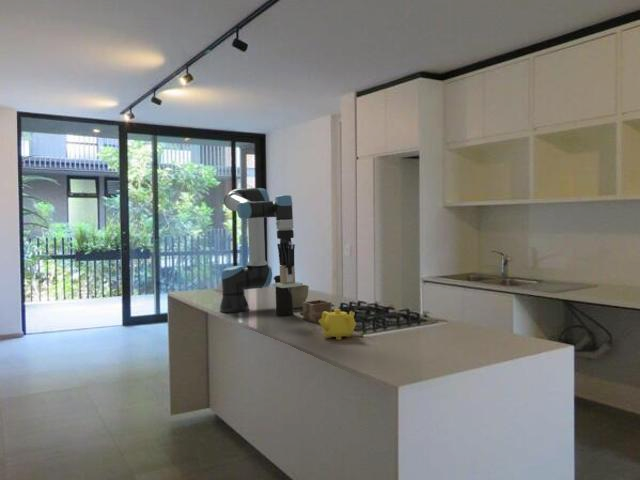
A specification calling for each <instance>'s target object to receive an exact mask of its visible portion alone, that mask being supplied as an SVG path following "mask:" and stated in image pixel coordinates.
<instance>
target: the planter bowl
mask: <svg viewBox="0 0 640 480" xmlns="http://www.w3.org/2000/svg"><path fill="white" fill-rule="evenodd" d="M308 296H309V285H308V284H303V286H296V287H292V301H293V309H296V308H297V309H298V308H303V305H302V302H307V299H308Z"/></svg>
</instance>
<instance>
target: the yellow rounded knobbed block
mask: <svg viewBox="0 0 640 480" xmlns="http://www.w3.org/2000/svg"><path fill="white" fill-rule="evenodd" d="M355 314H356V313H355V311H352V310H351V311H350V312H349V314H348V312H346V311H341V308H334V309H333V311H332V312H330V313H329V312H327V311H324V312H323V313H322V318H321V319H320V320H319V321H318V323H319V324H320V325H321V331H322V332H323V334H324V335H325V336H326V339H331V338H332V337H333V338H335V340H337V341H340V340H342V337H345V338H351V337H352V336H351V335H352V333H353V332H354V330H355V327H356V326H357V323H356V321H355V317H354V316H355Z"/></svg>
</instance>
